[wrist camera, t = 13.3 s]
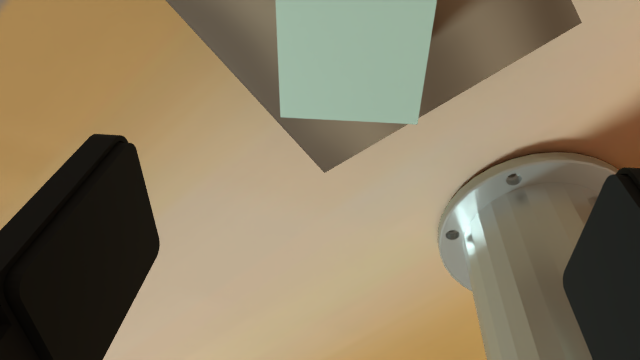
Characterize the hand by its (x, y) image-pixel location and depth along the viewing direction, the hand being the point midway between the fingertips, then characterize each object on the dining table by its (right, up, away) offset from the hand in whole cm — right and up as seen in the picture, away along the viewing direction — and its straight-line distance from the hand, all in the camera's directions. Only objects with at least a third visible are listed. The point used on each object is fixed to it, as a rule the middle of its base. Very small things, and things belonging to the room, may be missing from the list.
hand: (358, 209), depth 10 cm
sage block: (+1, +8, +11) cm, 14 cm away
